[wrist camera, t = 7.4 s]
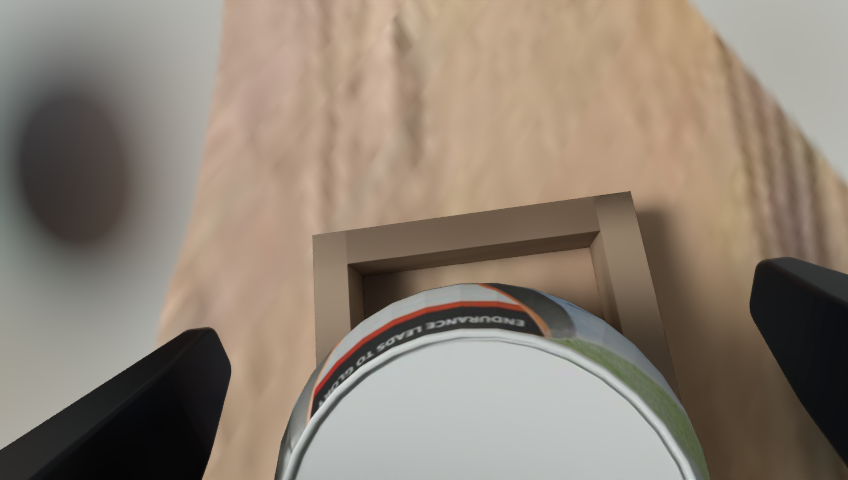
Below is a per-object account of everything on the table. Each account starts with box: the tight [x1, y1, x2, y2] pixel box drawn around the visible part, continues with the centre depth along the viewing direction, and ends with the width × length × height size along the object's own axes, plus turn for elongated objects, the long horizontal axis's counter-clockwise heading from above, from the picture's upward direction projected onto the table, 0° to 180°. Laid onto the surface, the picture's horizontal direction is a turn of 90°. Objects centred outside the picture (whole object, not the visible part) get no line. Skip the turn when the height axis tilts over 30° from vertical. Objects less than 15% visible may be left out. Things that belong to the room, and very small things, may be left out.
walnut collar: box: [313, 191, 682, 405], centre depth 16 cm, size 12×11×2 cm
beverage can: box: [274, 283, 710, 480], centre depth 11 cm, size 6×7×12 cm
